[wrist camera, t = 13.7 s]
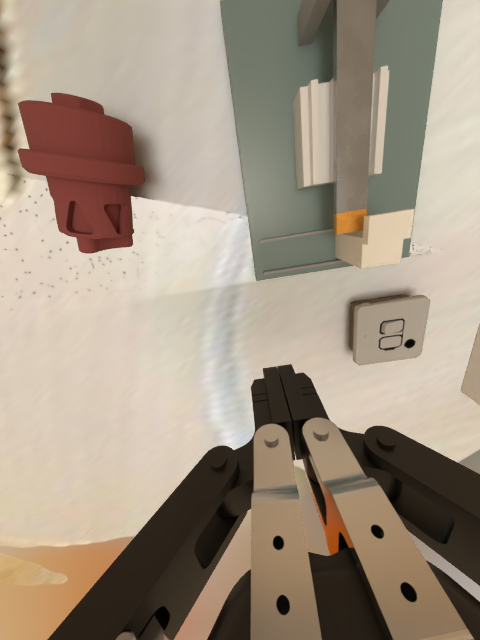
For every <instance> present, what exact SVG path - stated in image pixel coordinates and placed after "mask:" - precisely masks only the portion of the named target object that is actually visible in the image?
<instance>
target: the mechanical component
mask: <svg viewBox="0 0 480 640" xmlns="http://www.w3.org/2000/svg"><path fill="white" fill-rule="evenodd" d="M51 97H52V102H53V103H50V102H43V101H31V100H27V101H22V102H19V103H18V105H19V109H20V113H21V117H22V121H23V125H24V129H25V132H26V136H27V140H28V144H29V148H30V150H29V149H21V148H20V149H19V150H18V154H19V157H20V161H21V164H22V167H23V168H24V169H25V170H26V171H28V172H29V173H33V174H38V175H44V176H46V178H47V182H48V187H49V191H50V195H51V196H52V198H53V200H54V205H55V213H56V219H57V224H58V228H59V231H60V232H62V233H64V234H66V235H68V236H72V237H77V242H78V247H79V251H81V252H82V253H95V252H98V251H102V250H106V249H112V248H121V247H131V246H132V245H133V239H132V234H133V233H134V229H133V221H132V206H131V195H130V185H142V184H143V183H144V182H145V178H144V168H143V167H142V166H137V165H135V161H134V148H133V136H132V127H131V126H129V125H128V124H127V123H125V122H123V121H121V120H119V119H116V118H113V117H110V116H107V115H104V109H103V107H102V105H100V104H99V103H96V102H94V101H91V100H88V99H85V98H82V97H78V96H74V95H69V94H63V93H51Z"/></svg>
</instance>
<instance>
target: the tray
mask: <svg viewBox="0 0 480 640" xmlns="http://www.w3.org/2000/svg"><path fill="white" fill-rule="evenodd" d="M461 391H462V392H463V393H465V394H466V395H467V396H468V397H470V398H471V399H472V400H474V401H475V402H476V403H477V404H479V405H480V325H479V329H478V332H477V336H476V339H475V343H474V346H473V350H472V353H471V357H470V360H469V364H468V367H467V371H466V374H465V378H464V381H463V385H462V388H461Z"/></svg>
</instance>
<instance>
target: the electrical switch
mask: <svg viewBox="0 0 480 640" xmlns="http://www.w3.org/2000/svg"><path fill="white" fill-rule="evenodd" d="M429 305H430V299H428V298H427V297H426V296H424V295H416V296H413V297H409V296H407V295H399V296H392V297H385V298H379V299H372V300H366V301H359V302H352V303H351V321H350V348H351V349H352V350H353V361H354V362H355V363H356V364H358V365H366V364H373V363H381V362H388V361H396V360H403V359H410V358H417V357H418V356H419V355H420V354H421V352H422V346H423V340H424V334H425V329H426V323H427V317H428V311H429Z"/></svg>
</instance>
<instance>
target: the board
mask: <svg viewBox="0 0 480 640" xmlns="http://www.w3.org/2000/svg"><path fill="white" fill-rule="evenodd" d="M442 1H443V0H377V4H376V26H375V47H374V69H373V90H372V112H371V133H370V155H369V176H368V198H367V216H369V215H375V214H381V213H387V212H393V211H399V210H405V209H414V212H415V205H416V197H417V190H418V182H419V175H420V167H421V160H422V152H423V145H424V137H425V129H426V122H427V114H428V107H429V99H430V92H431V84H432V77H433V69H434V62H435V54H436V47H437V39H438V32H439V24H440V16H441V9H442ZM220 5H221V15H222V22H223V30H224V38H225V45H226V53H227V61H228V68H229V76H230V84H231V91H232V99H233V107H234V114H235V122H236V130H237V137H238V145H239V153H240V160H241V168H242V176H243V183H244V191H245V199H246V206H247V214H248V222H249V229H250V237H251V245H252V252H253V260H254V268H255V275H256V281H259V280H265V279H272V278H278V277H284V276H291V275H297V274H303V273H310V272H316V271H322V270H329V269H335V268H341V267H348V266H354V265H352V264H350V263H347V262H345V261H343V260H341V259H338V258H336V257H335V234H334V171H333V0H220ZM413 220H414V217H413ZM412 227H413V225H412ZM411 235H412V232H411ZM410 242H411V238H407V239H404V240H403V248H402V256H401V258H405V257H409V250H410Z"/></svg>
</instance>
